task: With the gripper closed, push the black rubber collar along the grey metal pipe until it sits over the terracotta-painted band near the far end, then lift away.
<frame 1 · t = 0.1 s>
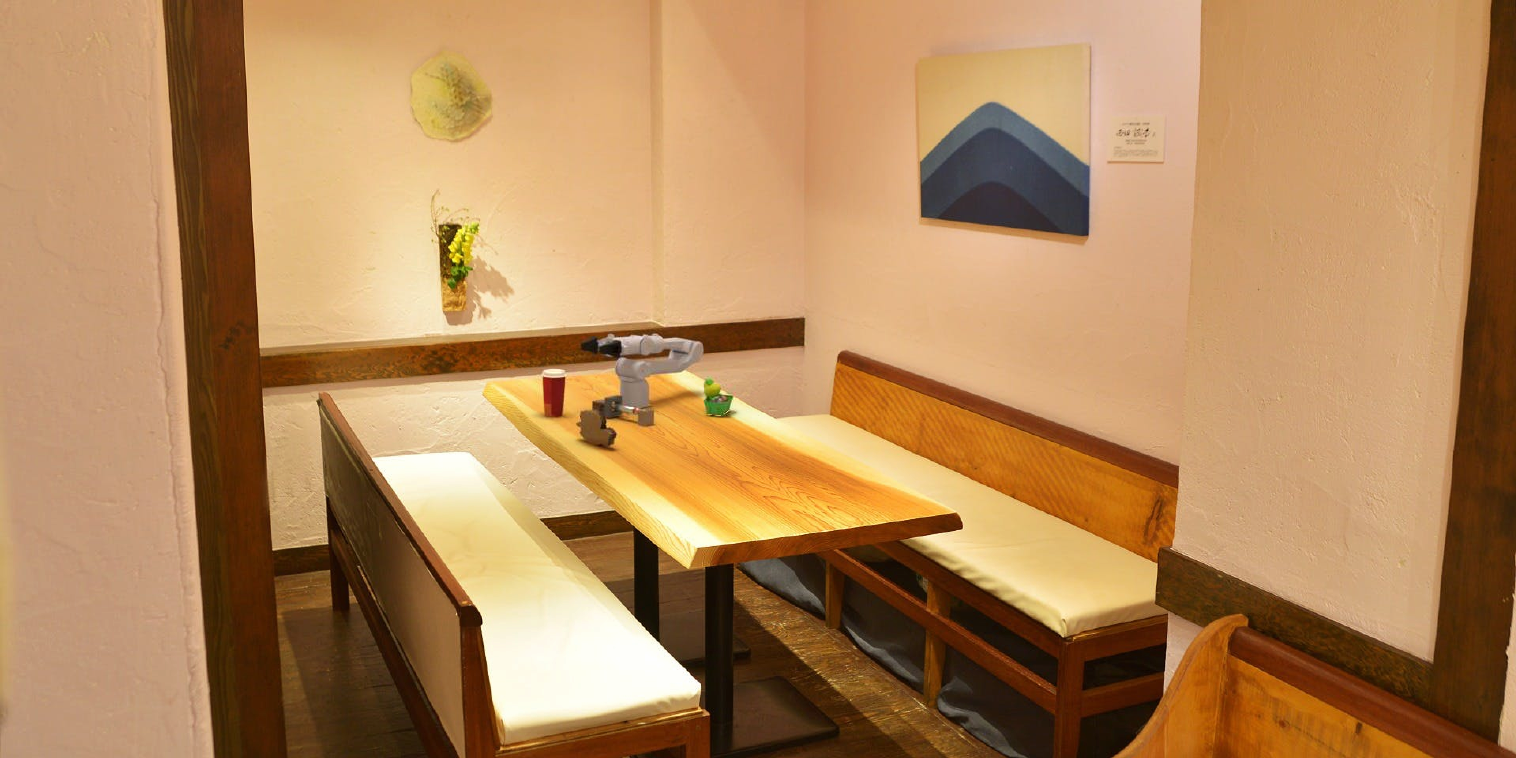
hand: (590, 348, 398), 22 cm above the table, tool horizontal, fingers open, 7 cm apart
wooden carving: (596, 444, 369), on the table
collar: (613, 406, 402), point 3 cm above the table, slide at 0.0 cm
paper cup: (553, 415, 402), on the table
fruit basket: (716, 414, 414), on the table
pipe: (622, 419, 400), on the table
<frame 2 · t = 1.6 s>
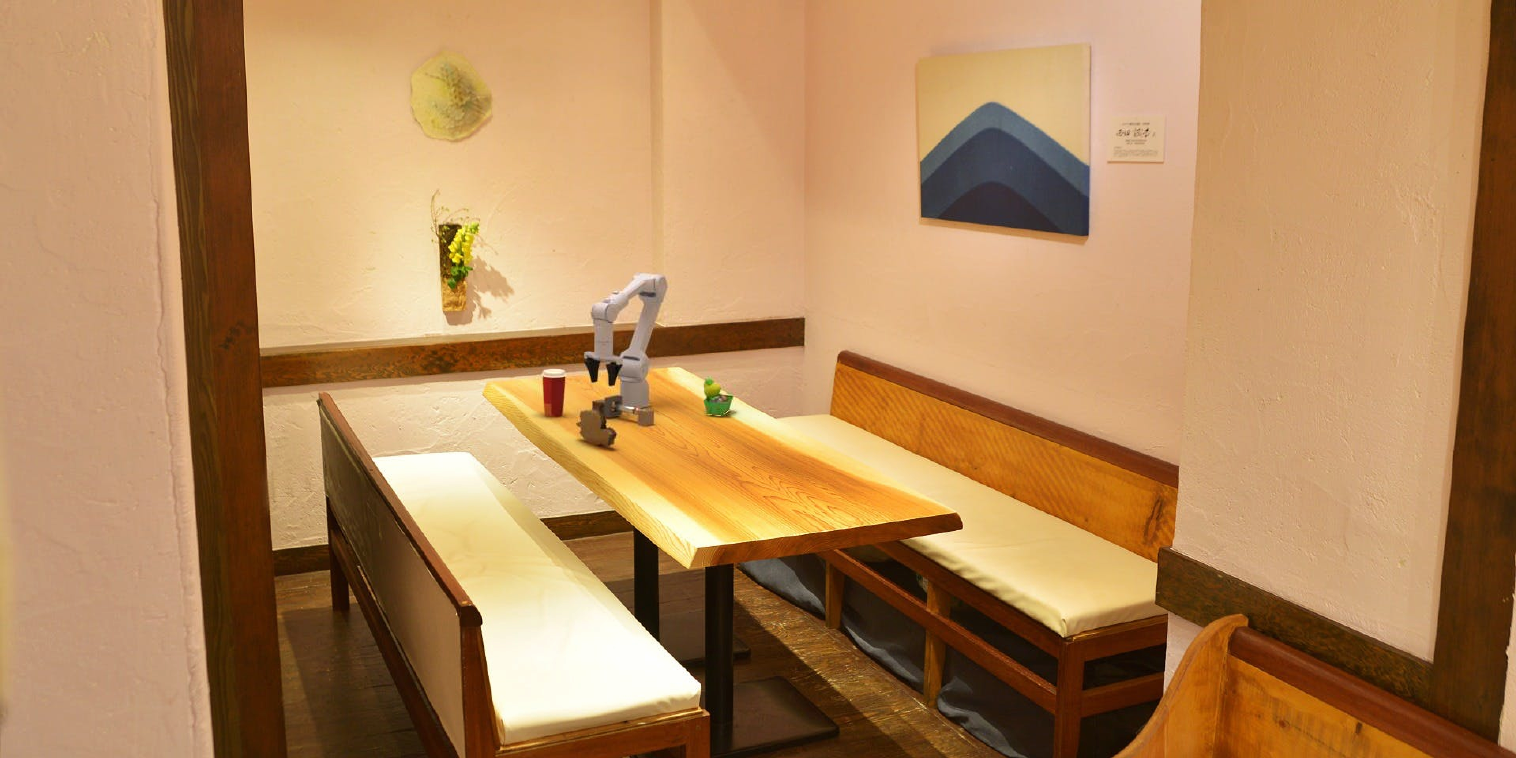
hand: (602, 384, 403), 10 cm above the table, tool pointing down, fingers open, 7 cm apart
nothing on the table moved.
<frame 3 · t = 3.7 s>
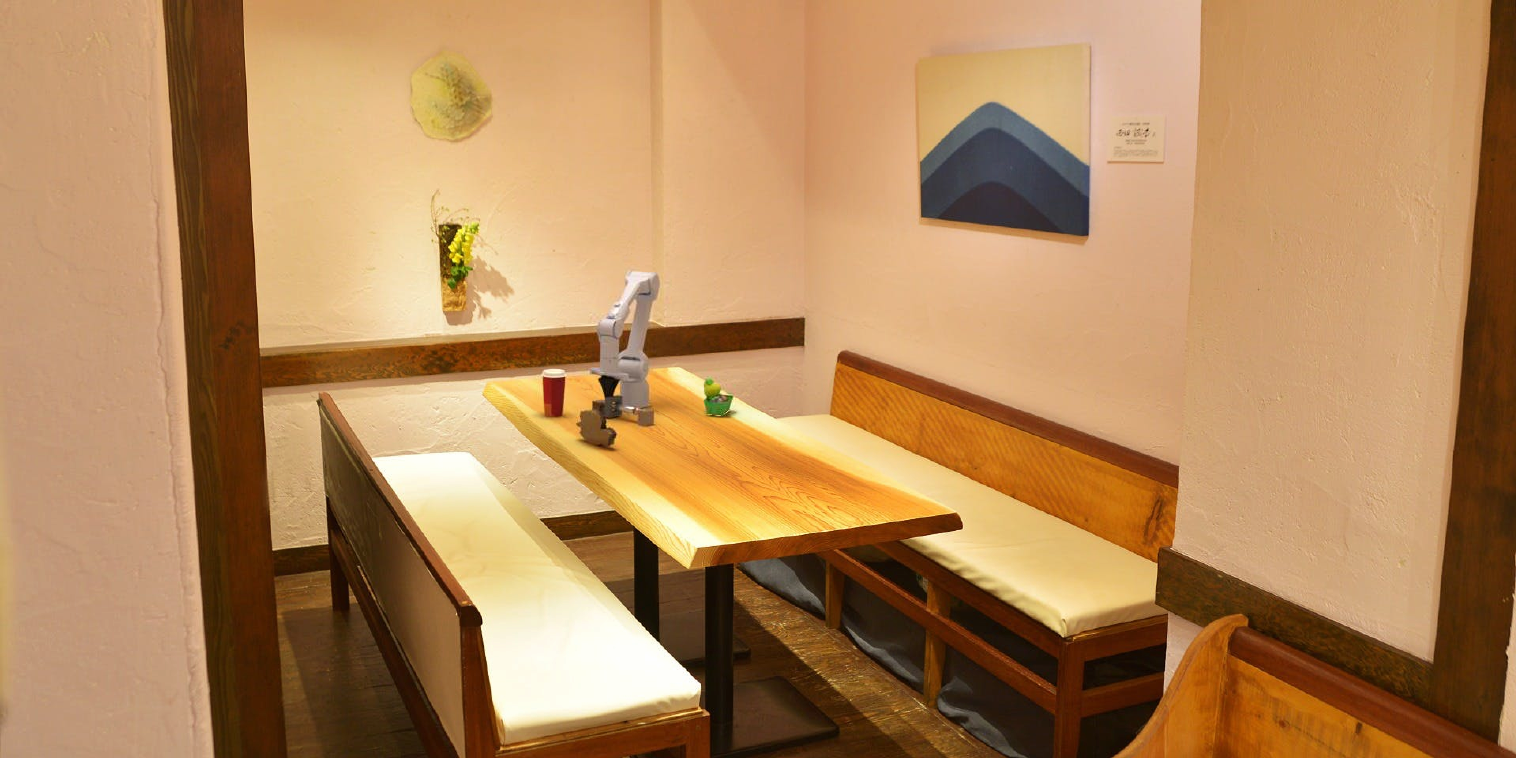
hand: (608, 400, 402), 5 cm above the table, tool pointing down, fingers closed
collar: (613, 406, 401), point 4 cm above the table, slide at 0.1 cm, touching gripper
everything else where it was.
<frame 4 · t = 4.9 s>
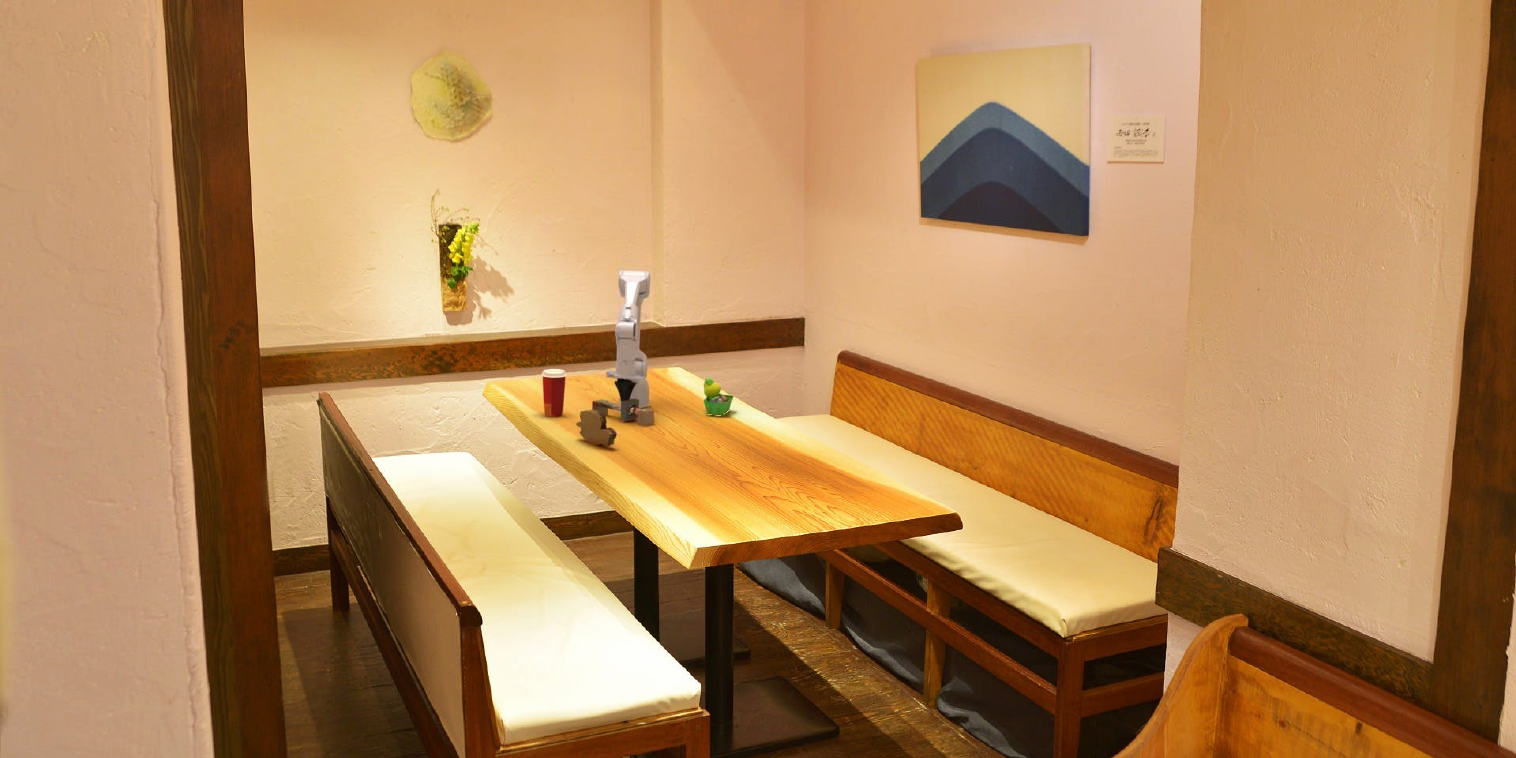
hand: (625, 403, 398), 5 cm above the table, tool pointing down, fingers closed
collar: (629, 409, 398), point 4 cm above the table, slide at 6.9 cm, touching gripper
everything else where it was.
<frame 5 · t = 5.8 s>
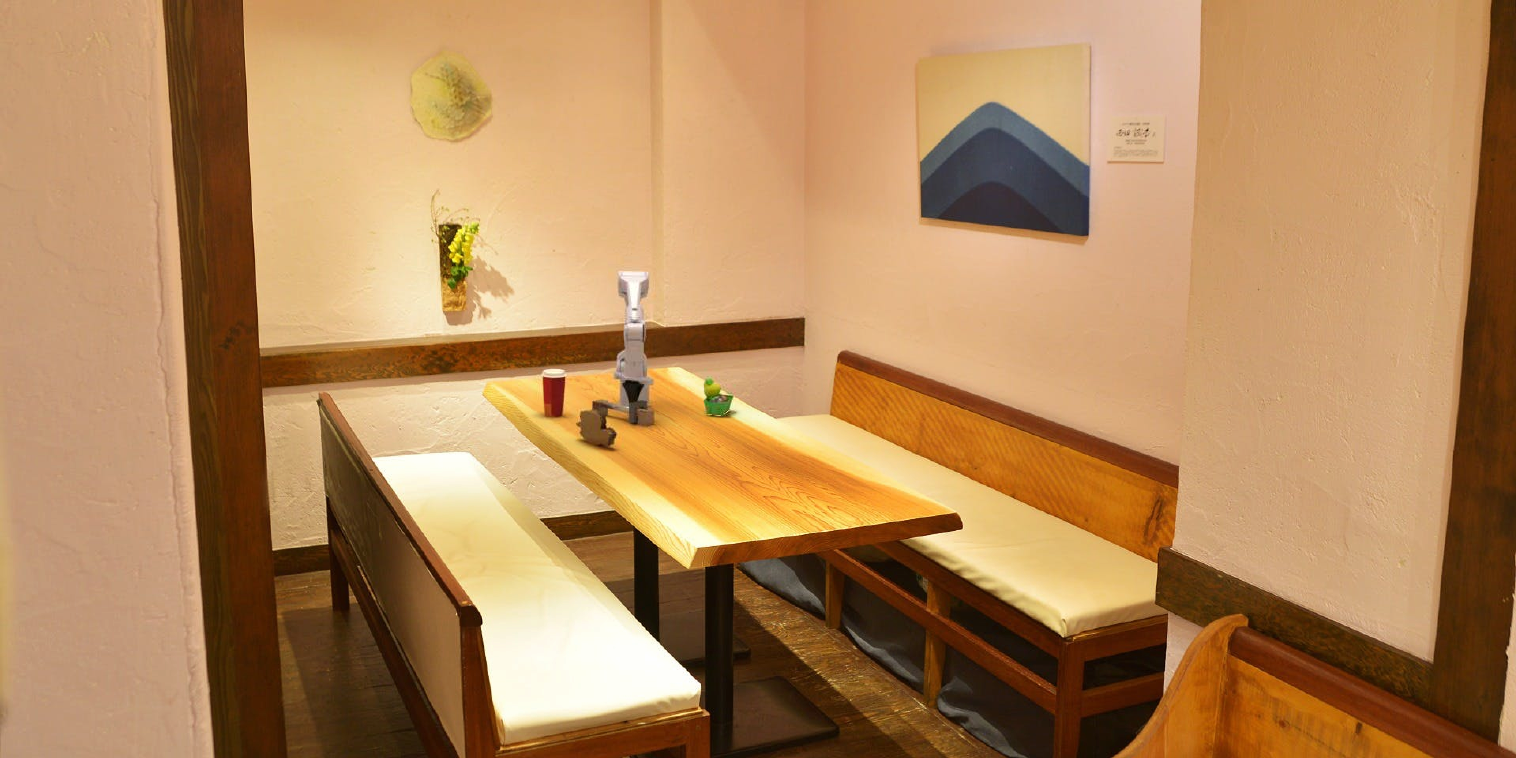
hand: (633, 405, 396), 5 cm above the table, tool pointing down, fingers closed
collar: (637, 411, 396), point 3 cm above the table, slide at 10.2 cm, touching gripper
everything else where it was.
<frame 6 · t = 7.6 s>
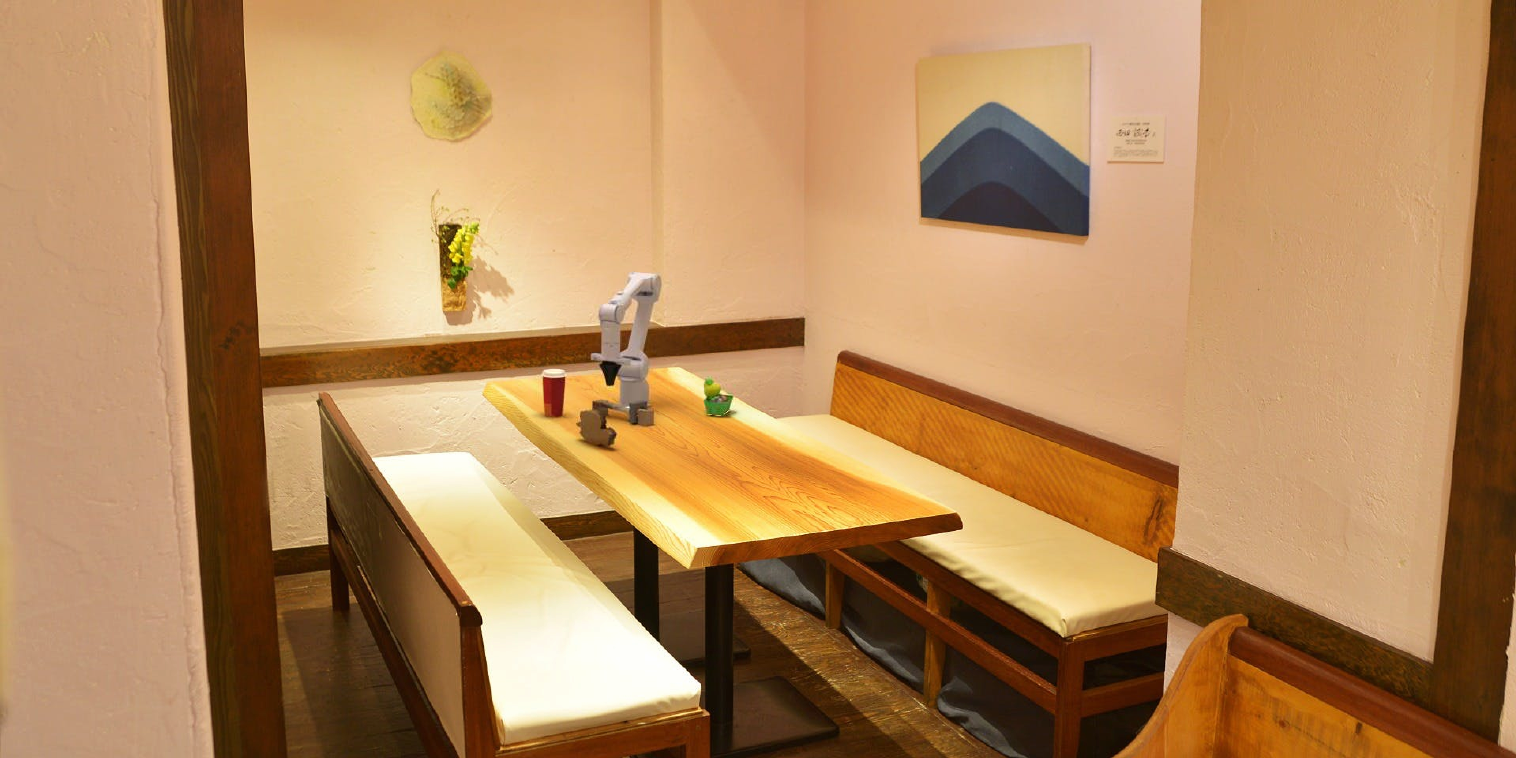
hand: (610, 385, 401), 10 cm above the table, tool pointing down, fingers closed
collar: (638, 411, 396), point 4 cm above the table, slide at 10.3 cm
everything else where it was.
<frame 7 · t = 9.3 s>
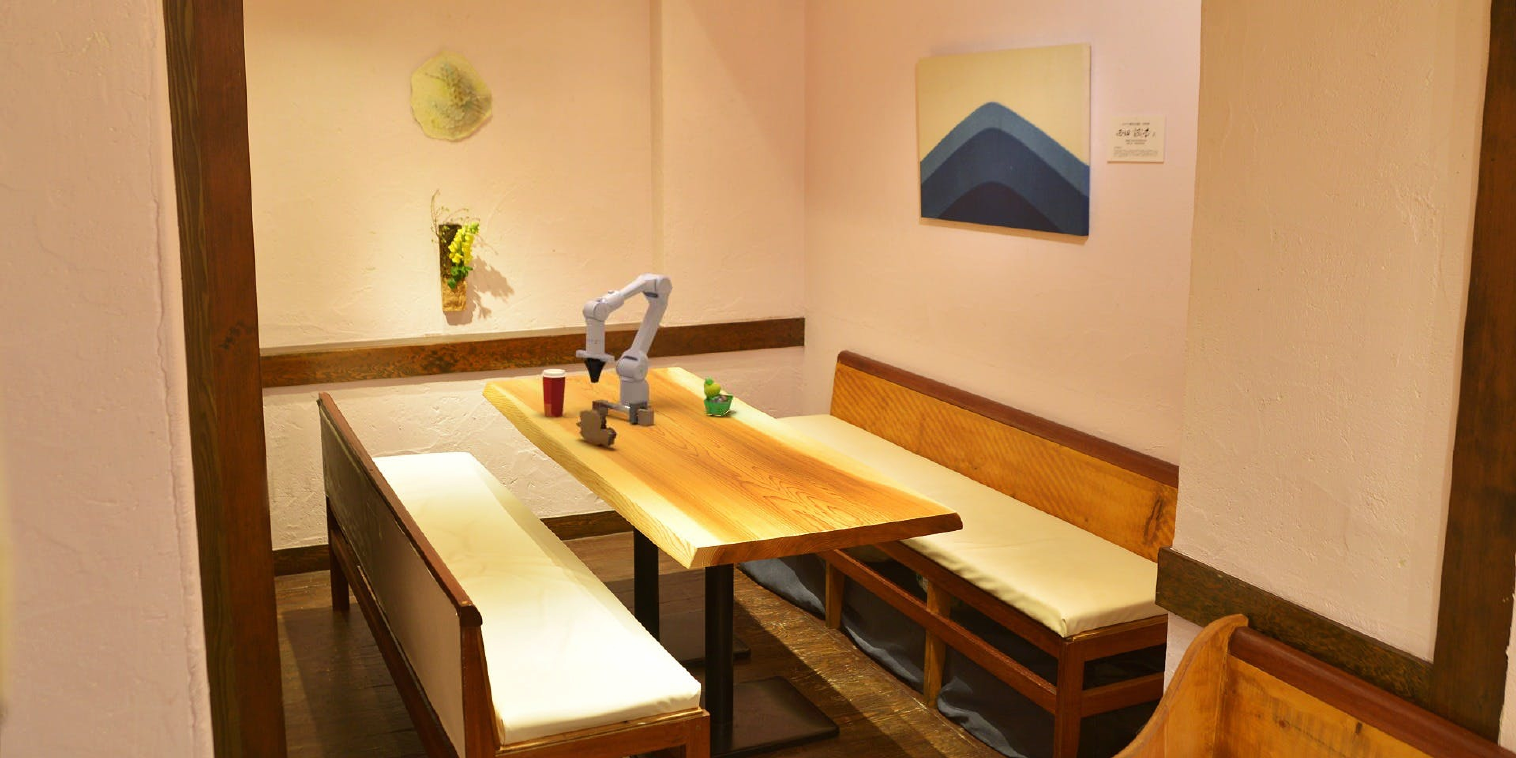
hand: (594, 382, 405), 10 cm above the table, tool pointing down, fingers closed
nothing on the table moved.
at the end: collar slide at 10.3 cm; collar moved 10.3 cm from its start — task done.
